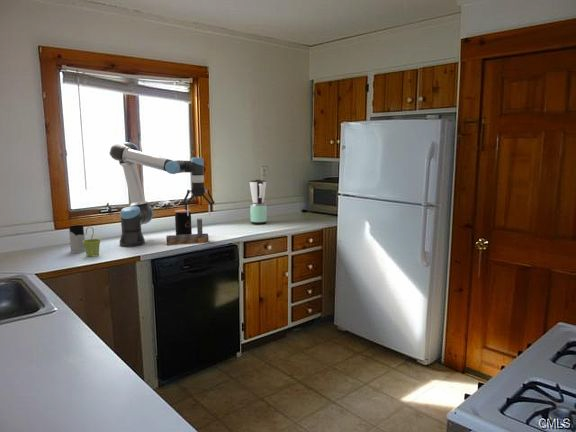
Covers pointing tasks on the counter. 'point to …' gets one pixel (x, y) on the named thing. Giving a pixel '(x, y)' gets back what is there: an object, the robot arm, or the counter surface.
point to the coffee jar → (183, 222)
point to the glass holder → (77, 238)
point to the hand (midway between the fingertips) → (198, 215)
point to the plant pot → (92, 247)
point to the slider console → (187, 239)
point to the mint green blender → (258, 202)
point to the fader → (199, 226)
